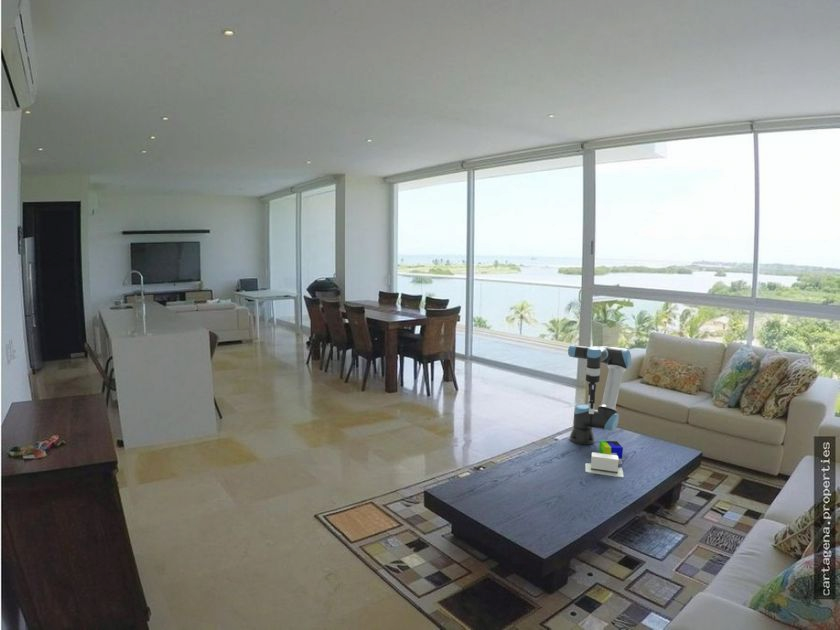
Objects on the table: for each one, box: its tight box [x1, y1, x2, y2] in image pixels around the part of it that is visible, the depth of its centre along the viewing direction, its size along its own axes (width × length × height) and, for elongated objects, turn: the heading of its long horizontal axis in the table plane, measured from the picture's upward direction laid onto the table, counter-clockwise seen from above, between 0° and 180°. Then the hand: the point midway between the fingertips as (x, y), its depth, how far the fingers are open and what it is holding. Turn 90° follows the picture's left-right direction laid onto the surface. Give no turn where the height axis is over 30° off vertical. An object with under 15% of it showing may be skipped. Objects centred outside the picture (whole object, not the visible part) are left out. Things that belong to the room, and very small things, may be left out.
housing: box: [590, 451, 619, 472], centre depth 294 cm, size 14×6×7 cm, turn 73°
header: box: [584, 462, 625, 479], centre depth 294 cm, size 12×20×7 cm, turn 73°
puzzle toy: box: [598, 440, 624, 465], centre depth 308 cm, size 10×10×10 cm
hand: (590, 409), depth 304 cm, fingers open, 13 cm apart
